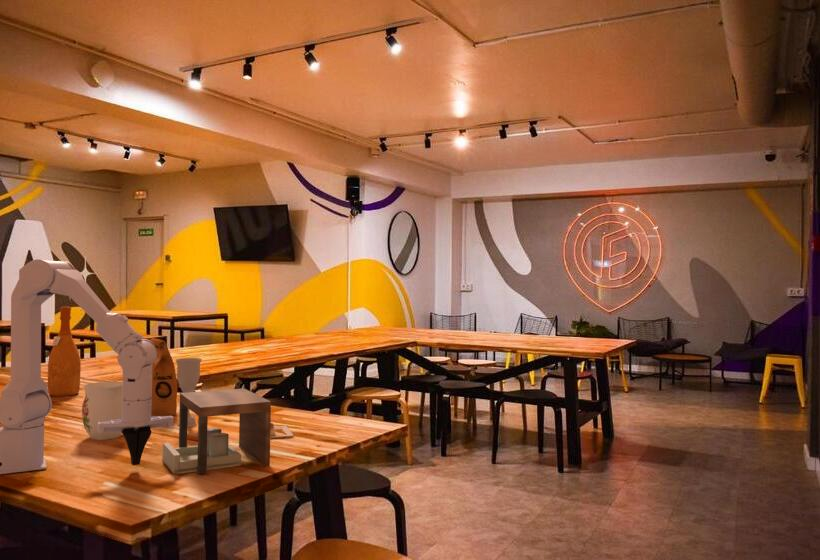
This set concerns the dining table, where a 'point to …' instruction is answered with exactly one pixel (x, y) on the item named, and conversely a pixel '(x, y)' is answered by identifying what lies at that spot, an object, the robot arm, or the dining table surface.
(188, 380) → the chalice
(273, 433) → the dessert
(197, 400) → the miniature side table
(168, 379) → the coffee package
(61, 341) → the wine bottle
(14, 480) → the dining table surface
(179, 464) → the tray
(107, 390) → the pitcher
